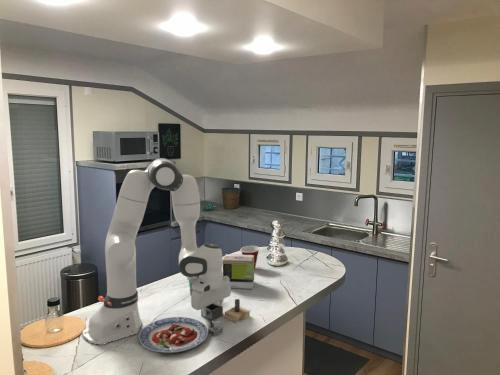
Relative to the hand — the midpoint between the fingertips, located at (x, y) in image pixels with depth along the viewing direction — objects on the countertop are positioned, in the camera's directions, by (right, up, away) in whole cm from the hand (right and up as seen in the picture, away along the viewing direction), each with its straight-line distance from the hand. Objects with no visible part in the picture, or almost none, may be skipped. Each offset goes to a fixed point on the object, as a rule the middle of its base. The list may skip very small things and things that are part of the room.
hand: (212, 312), depth 172 cm
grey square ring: (0, -2, 0) cm, 2 cm away
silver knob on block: (+3, -4, -14) cm, 15 cm away
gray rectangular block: (+1, -3, -9) cm, 9 cm away
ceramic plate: (-13, -5, -17) cm, 22 cm away
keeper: (+11, -2, 0) cm, 11 cm away
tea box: (+10, +3, +33) cm, 35 cm away
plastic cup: (+16, +7, +56) cm, 59 cm away
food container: (-9, +1, +20) cm, 22 cm away
